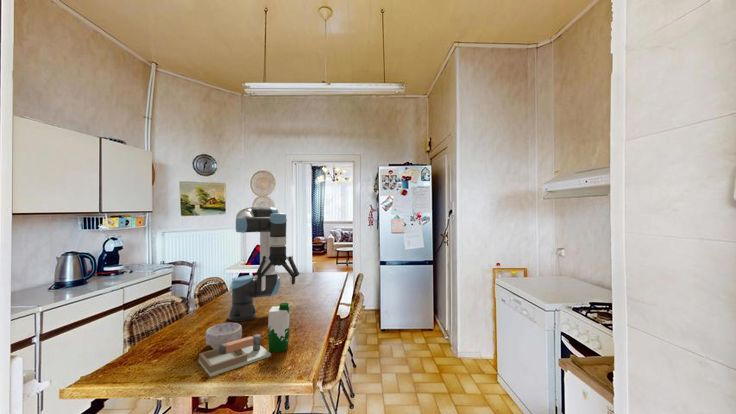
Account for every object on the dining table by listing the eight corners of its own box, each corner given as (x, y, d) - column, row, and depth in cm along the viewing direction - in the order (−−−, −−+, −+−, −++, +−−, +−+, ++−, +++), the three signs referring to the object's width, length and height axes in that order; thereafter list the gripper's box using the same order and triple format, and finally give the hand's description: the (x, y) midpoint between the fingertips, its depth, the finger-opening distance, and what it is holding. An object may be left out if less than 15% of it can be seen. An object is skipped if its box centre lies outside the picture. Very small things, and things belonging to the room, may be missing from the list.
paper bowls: (205, 355, 130) (205, 337, 130) (205, 342, 144) (205, 325, 144) (243, 348, 137) (243, 331, 137) (240, 336, 151) (240, 320, 151)
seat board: (198, 362, 125) (198, 352, 125) (255, 344, 141) (256, 336, 141) (210, 376, 114) (210, 366, 114) (270, 356, 131) (270, 347, 131)
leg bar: (258, 340, 136) (258, 333, 136) (262, 342, 134) (262, 335, 134) (217, 352, 124) (217, 345, 124) (220, 355, 122) (220, 348, 122)
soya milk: (287, 352, 134) (287, 306, 134) (266, 353, 133) (266, 307, 133) (290, 343, 143) (290, 301, 143) (270, 344, 142) (271, 301, 142)
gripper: (248, 246, 141) (248, 292, 141) (301, 247, 139) (300, 293, 139) (255, 244, 149) (255, 287, 149) (305, 245, 147) (305, 289, 147)
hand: (277, 290), depth 144 cm, fingers open, 13 cm apart
